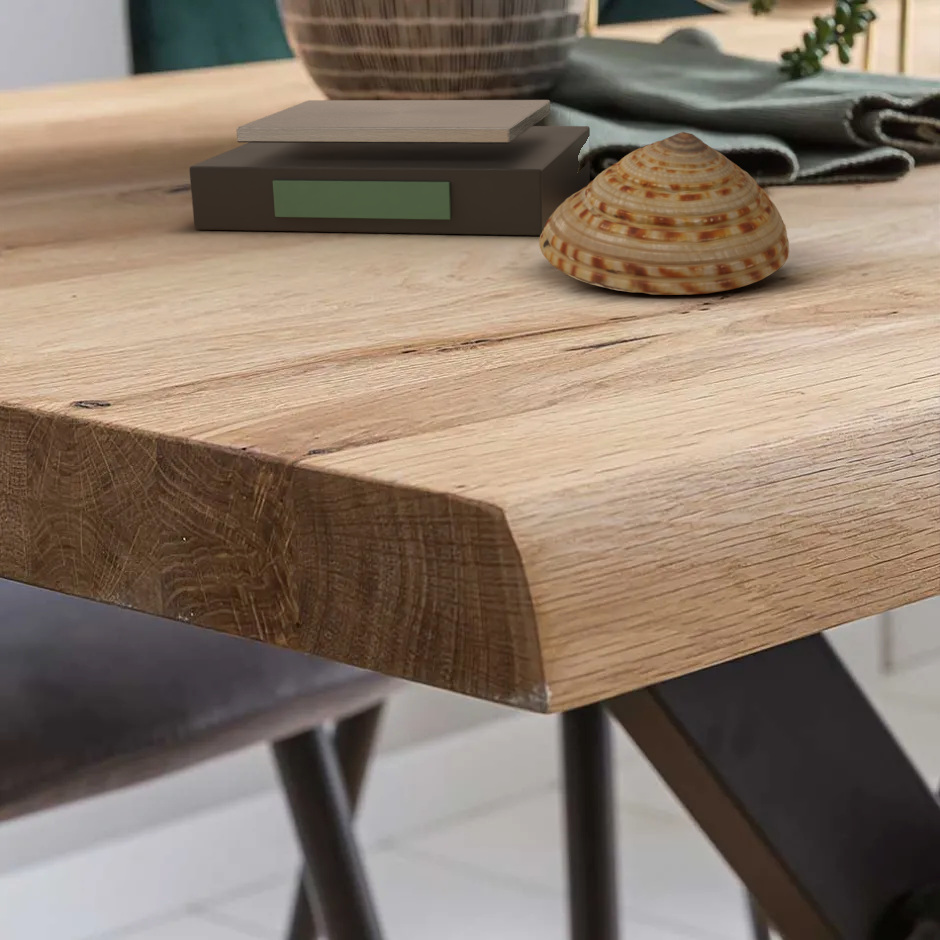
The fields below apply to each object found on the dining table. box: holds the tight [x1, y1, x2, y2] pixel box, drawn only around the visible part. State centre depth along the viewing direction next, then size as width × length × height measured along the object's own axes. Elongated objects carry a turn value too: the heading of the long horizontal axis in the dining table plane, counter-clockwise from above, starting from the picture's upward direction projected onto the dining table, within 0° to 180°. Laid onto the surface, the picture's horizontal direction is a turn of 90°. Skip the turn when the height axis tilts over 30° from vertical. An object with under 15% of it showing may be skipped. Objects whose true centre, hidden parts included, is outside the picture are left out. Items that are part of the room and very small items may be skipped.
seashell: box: [538, 131, 790, 296], centre depth 53 cm, size 8×6×8 cm
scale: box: [188, 125, 591, 236], centre depth 66 cm, size 14×12×2 cm
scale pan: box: [236, 99, 551, 144], centre depth 65 cm, size 11×9×1 cm
